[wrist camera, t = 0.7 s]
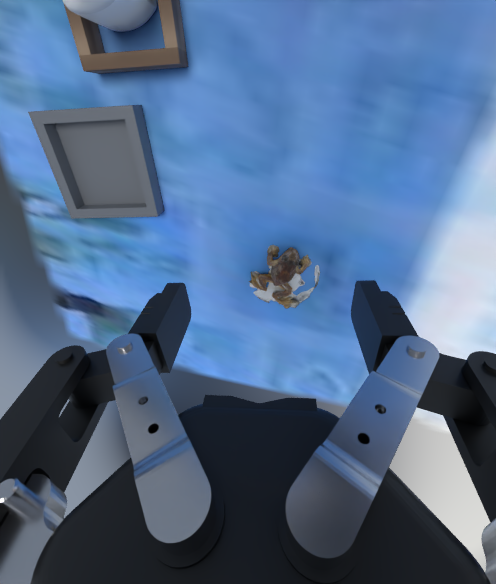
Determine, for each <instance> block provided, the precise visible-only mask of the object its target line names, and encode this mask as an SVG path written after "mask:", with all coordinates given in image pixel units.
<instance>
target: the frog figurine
mask: <svg viewBox="0 0 496 584" xmlns="http://www.w3.org/2000/svg"><path fill="white" fill-rule="evenodd" d="M267 252H268V257H267V264H268V265H269V268H270V271H269V272H268V274H260V273H259V272H257V271H255V272H251V278H252V280H251V281H249V282H250V287H252V288H257V289H258V290H257V291H254V294H255V295H256V296H257V297H258V298H259V299H261V300H263V301H265V302H268V303H269V301H270V300H273V301H277V302H278V303H279V304H282V305H284V307H285V308H289V307H293V308H296V307H297V306H298V305H299V304H300V303H301V302H302V301H304V300H305V299H307V298H308V297H310V293H311V292H312V291H313V289H314V288H315V287H316V286H317V284H318V281H319V275H320V270H319V266H318V265H316V266H315V276H316V277H315V286H314V287H313V288H311V289H309V290H308V291H305V292H302V293H300V294H298V295H297V296H296V295H294V294H293V293H292V292H293V291H295V290H296V289H297V288H298V287H299V286H303V285H304V284H305V282H304V281H303V280H302V279H301V276H300V274H301V273H303V271H304V270H305V269H306V268H307V267H309V266H310V265H311V263H312V262H311V261H310V259H309V257H308V255H306V256H304V257H303V258H302V259H299V253H298V251H297V250H296V249H294V248H291V247H290V248H289V249H288V250H287V251H285V252H284V253H283V254H282V255H281V256H280V258H279V259H276V260H273V257H278V252H279V247H277V246H275V245H270V246H269V248H268V250H267ZM298 267H299V268H300V269H299V268H298ZM267 282H269V285H268V287H267V288H266V284H267Z"/></svg>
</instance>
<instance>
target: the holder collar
mask: <svg viewBox="0 0 496 584" xmlns="http://www.w3.org/2000/svg"><path fill="white" fill-rule="evenodd" d="M64 6H65V9H66V13H67V16H68V19H69V23H70V26H71V30H72V33H73V36H74V40H75V43H76V46H77V50H78V53H79V57H80V60H81V63H82V67H83V70H84V71H86V72H92V73H98V74H102V73H115V72H128V71H141V70H154V69H168V68H181V67H188V61H187V54H186V46H185V38H184V31H183V23H182V16H181V8H180V1H179V0H158V6H159V12H160V18H161V24H162V30H163V37H164V43H165V48H162V49H150V50H138V51H126V52H114V53H105V52H104V48H103V44H102V40H101V36H100V32H99V28H98V24H97V23H94V22H92V21H90V20H88V19H86V18H83V17H81V16H79V15H77V14H75V13H73V12H72V11H70V10H69V9H68V8H67V7H66V5H65V4H64Z"/></svg>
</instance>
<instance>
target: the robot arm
mask: <svg viewBox="0 0 496 584" xmlns="http://www.w3.org/2000/svg"><path fill="white" fill-rule="evenodd" d="M351 318H352V323H353V326H354V329H355V332H356V335H357V338H358V341H359V344H360V347H361V350H362V353H363V356H364V360H365V363H366V366H367V369H368V372H369V376H368V377H367V379H366V380H365V382H364V383H363V385H362V386H361V388H360V389H359V391H358V392H357V394H356V395H355V397H354V398H353V400H352V401H351V403H350V404H349V406H348V407H347V409H346V410H345V412H344V413H343V415H342V416H341V418H338V417H337V416H335V415H334V414H332V413H330V412H328V411H325V410H323V409H319V408H317V405H316V399H309V398H285V399H279V400H274V401H270V402H265V403H255V402H251V401H247V400H244V399H240V398H237V397H233V396H216V395H215V396H214V395H205V398H204V402H203V404H200V405H197V406H194V407H191V408H189V409H187V410H185V411H184V412H182V413H180V414H179V415H177V413H176V410H175V408H174V406H173V404H172V402H171V399H170V397H169V395H168V393H167V391H166V389H165V386H164V384H163V382H162V380H161V378H160V373H170V371H171V369H172V366H173V363H174V361H175V358H176V356H177V353H178V351H179V348H180V345H181V343H182V340H183V338H184V335H185V333H186V330H187V327H188V325H189V322H190V319H191V307H190V303H189V299H188V294H187V290H186V286H185V284H184V283H167V285H166V286H165V288H164V290H163V291H162V293H157V294H156V295H155V296H153V297H152V298H151V299H150V300H149V301H148V303H147V304H146V306H145V308H144V309H143V311H142V312H141V314H140V315H139V317H138V319H137V320H136V322H135V323H134V325H133V327H132V328H131V330H130V331H129V333H128V334H125V335H122V336H119V337H117V338H116V339H114V340H113V341H112V342H111V343H110V344H109V345H108V347H107V349H105V350H101V351H97V352H92V353H88V354H87V353H86V351H85V350H84V348H83V347H81V346H69V347H65V348H63V349H61V350H59V351H57V352H56V353H55V354H53V355H52V356H51V357H50V358H49V359H48V360H47V361H46V363H45V364H44V366H43V367H42V368H41V369H40V370H39V372H38V373H37V374H36V375H35V377H34V378H33V379H32V380H31V382H30V383H29V384H28V385H27V387H26V388H25V389H24V391H23V392H22V393H21V394H20V396H19V397H18V398H17V399H16V401H15V402H14V403H13V404H12V406H11V407H10V408H9V409H8V411H7V412H6V413H5V414H4V416H3V417H2V418H1V420H0V584H496V354H494V353H490V352H483V351H478V352H474V353H472V354H470V355H469V357H468V358H467V360H464V359H460V358H456V357H451V356H447V355H443V354H441V353H439V351H438V350H437V348H436V347H435V346H434V345H433V344H432V343H430V342H429V341H427V340H425V339H423V338H420V337H419V336H418V335H417V333H416V331H415V330H414V328H413V326H412V324H411V323H410V321H409V319H408V317H407V316H406V315H405V312H404V310H403V309H402V308H401V305H400V304H399V302H398V300H397V298H395V297H394V296H393V295H392V294H390V293H389V292H388V291H380V289H379V287H378V285H377V283H376V281H374V280H371V281H357V282H356V284H355V289H354V295H353V301H352V307H351ZM68 399H69V400H70V401H69V403H68V404H67V406H66V408H65V409H64V411H63V412H62V414H61V416H60V417H59V414H60V412H61V410H62V408H63V407H64V405H65V403H66V402H67V400H68ZM113 400H116V402H117V406H118V410H119V413H120V417H121V421H122V425H123V429H124V432H125V436H126V439H127V443H128V447H129V451H130V454H131V458H130V459H129V460H127V461H126V462H125V463H124V464H123V465H122V466H121V467H120V468H119V469H118V470H117V471H115V472H114V473H113V474H112V475H111V476H110V477H109V478H108V479H107V480H106V481H105V482H103V483H102V484H101V485H100V486H99V487H98V488H97V489H96V490H95V491H93V493H91V495H89V496H88V497H87V498H86V499H85V500H84V501H83V502H81V503H80V504H79V505H78V506H77V507H76V508H75V509H74V510H73V511H72V512H71V513H70V514H69V515H67V516H66V518H64V514H65V511H66V507H67V498H66V495H65V493H64V492H65V490H66V487H67V485H68V483H69V481H70V479H71V477H72V475H73V473H74V471H75V469H76V467H77V465H78V463H79V461H80V459H81V457H82V455H83V453H84V451H85V448H86V446H87V444H88V442H89V440H90V438H91V436H92V434H93V432H94V430H95V428H96V426H97V424H98V422H99V420H100V417H101V416H102V414H103V411H104V409H105V407H106V405H107V403H108V402H109V401H113ZM416 407H417V408H421V409H424V410H427V411H431V412H434V413H437V414H440V415H443V416H444V418H445V421H446V423H447V425H448V427H449V430H450V432H451V434H452V436H453V439H454V441H455V443H456V445H457V448H458V450H459V452H460V454H461V457H462V459H463V461H464V464H465V466H466V468H467V470H468V473H469V474H470V477H471V479H472V482H473V484H474V486H475V488H476V490H477V493H478V495H479V497H480V500H481V502H482V504H483V506H484V509H485V511H486V513H487V515H488V518H489V520H490V522H491V523H490V524H489V525H488V526H486V527H485V529H484V530H483V533H482V546H483V549H484V553H485V556H486V572H484V571H483V569H482V568H481V566H480V565H479V563H478V562H477V560H476V559H475V558H474V557H473V555H472V554H471V553H470V552H469V551H468V550H467V548H466V547H465V546H464V545H463V544H462V543H461V542H460V541H459V540H458V539H457V538H456V537H455V536H454V535H453V534H452V533H451V531H450V530H449V529H448V528H447V527H446V526H445V525H444V524H443V523H442V522H441V521H440V520H439V519H438V518H437V517H436V516H435V515H434V514H433V513H432V512H431V511H430V510H429V509H428V508H427V506H426V505H425V504H424V503H423V502H422V501H421V500H420V499H419V498H418V497H417V496H416V495H415V494H414V493H413V492H412V491H411V490H410V489H409V488H408V487H407V486H406V485H405V484H404V483H403V482H402V481H401V479H400V478H399V477H397V475H396V474H395V473H394V472H393V471H392V470H391V469H390V468H389V466H390V464H391V461H392V459H393V457H394V455H395V453H396V451H397V448H398V446H399V444H400V442H401V440H402V437H403V435H404V433H405V431H406V428H407V427H408V424H409V422H410V420H411V418H412V416H413V414H414V412H415V410H416Z"/></svg>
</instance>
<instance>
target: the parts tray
mask: <svg viewBox="0 0 496 584" xmlns="http://www.w3.org/2000/svg"><path fill="white" fill-rule="evenodd" d="M28 113H29V115H30V118H31V120H32V122H33V125H34V127H35V130H36V132H37V135H38V137H39V140H40V142H41V145H42V147H43V149H44V152H45V154H46V157H47V159H48V162H49V164H50V167H51V169H52V172H53V174H54V177H55V179H56V181H57V184H58V186H59V189H60V191H61V194H62V196H63V199H64V201H65V204H66V206H67V208H68V211H69V213H70V216H71V218H111V217H156V216H159V215H160V214H161V213H162V212H163V211H164V206H163V202H162V197H161V192H160V188H159V183H158V179H157V174H156V169H155V165H154V160H153V155H152V151H151V146H150V142H149V137H148V132H147V128H146V123H145V119H144V114H143V109H142V105H128V106H113V107H97V108H81V109H66V110H50V111H34V112H28Z"/></svg>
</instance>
